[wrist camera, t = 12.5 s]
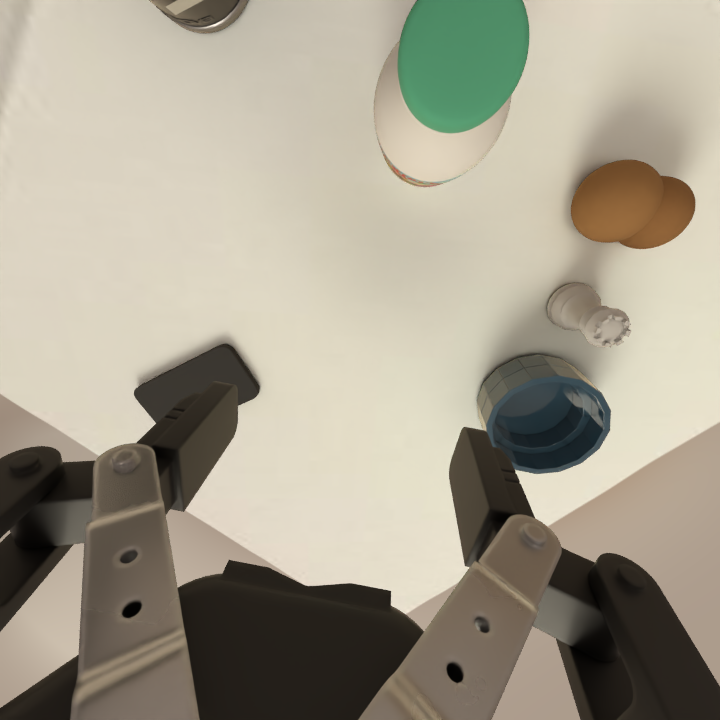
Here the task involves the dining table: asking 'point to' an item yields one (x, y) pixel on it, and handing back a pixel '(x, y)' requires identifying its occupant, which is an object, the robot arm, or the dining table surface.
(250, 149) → the dining table surface
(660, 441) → the dining table surface
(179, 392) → the phone
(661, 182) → the potato
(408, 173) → the milk bottle
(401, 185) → the dining table surface
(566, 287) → the rook chess piece
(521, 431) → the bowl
